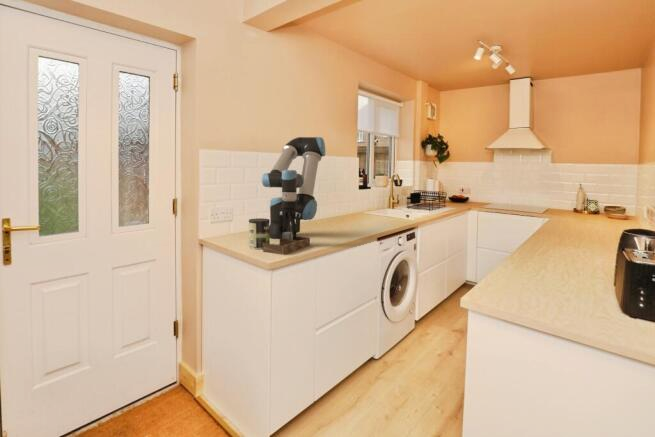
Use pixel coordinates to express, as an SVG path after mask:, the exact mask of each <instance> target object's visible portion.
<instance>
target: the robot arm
mask: <svg viewBox="0 0 655 437" xmlns="http://www.w3.org/2000/svg"><path fill="white" fill-rule="evenodd" d="M281 150H282V151H281V152H282V153H281V155H280V156H279V157H278V159H277V161H276V162H275V164H274V166H273V167H272V169H271V170H270V172H265V173H263V174H262V177H261V182H262V183H261V184H262V186H263V187H264V188H281V196H280V197H273V198H271V199H270V201H269V202H270V204H269V214H270V215H269V217H270V218H269V220H270V221H269V233H270V239H279V240H280V239H282V233H284V232H288V231H291V232H292V234H291V240H296V236H297V234H298V233H300V231H301V220H302V221H311V220H313V219H314V217H315V216H316V214H317V209H318V203H317V200H316V198H315V196H314V190H315V185H316V179H317V178H316V177H317V173H318V172H317V171H318V165H319V162H320V161H322V158H323V157H325V156H326V144H325V140H324V138H323V137H320V136H315V137H314V136H313V137H311V136H308V137H307V136H304V137H302V136H299V137H295V138H293V139H291V140H289V141H288V142H287V143H286V144H284V146H283V147H282V149H281ZM297 157H302V158H303V164H302V171H301V173H298V172H297V170H295V169H289V168H290V166H291V164H292V162H293V161H294V160H295V159H296V158H297ZM297 189H298V192H297Z"/></svg>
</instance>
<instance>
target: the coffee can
mask: <svg viewBox="0 0 655 437" xmlns="http://www.w3.org/2000/svg"><path fill="white" fill-rule="evenodd" d="M269 226H270V218H264V217H263V218H260V217H259V218H251V219H248V230H249V231H248V235H249V236H248V238H249V249H253V250H263V243H267V244H271V243H270V241H271V240H270V239H271V238H270V233H269Z"/></svg>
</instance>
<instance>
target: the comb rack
mask: <svg viewBox="0 0 655 437" xmlns="http://www.w3.org/2000/svg"><path fill="white" fill-rule="evenodd" d="M310 242H311V237H304V236H303V237H302V236H297V235H296V240H287V239H279V244H274V243H272V244H271V243H270V244H267V243H263V249H262V251H263V252H264V253H271V254H277V255H283V256H284V255H286V254H289V253H293V252H295V251H299V250H301V249H304V248H307V247H309V246H311V243H310Z"/></svg>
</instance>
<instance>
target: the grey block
mask: <svg viewBox="0 0 655 437" xmlns="http://www.w3.org/2000/svg"><path fill="white" fill-rule="evenodd" d="M291 234H292V232H291V231H288V232H284V233H282V239H287V240H291Z"/></svg>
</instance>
